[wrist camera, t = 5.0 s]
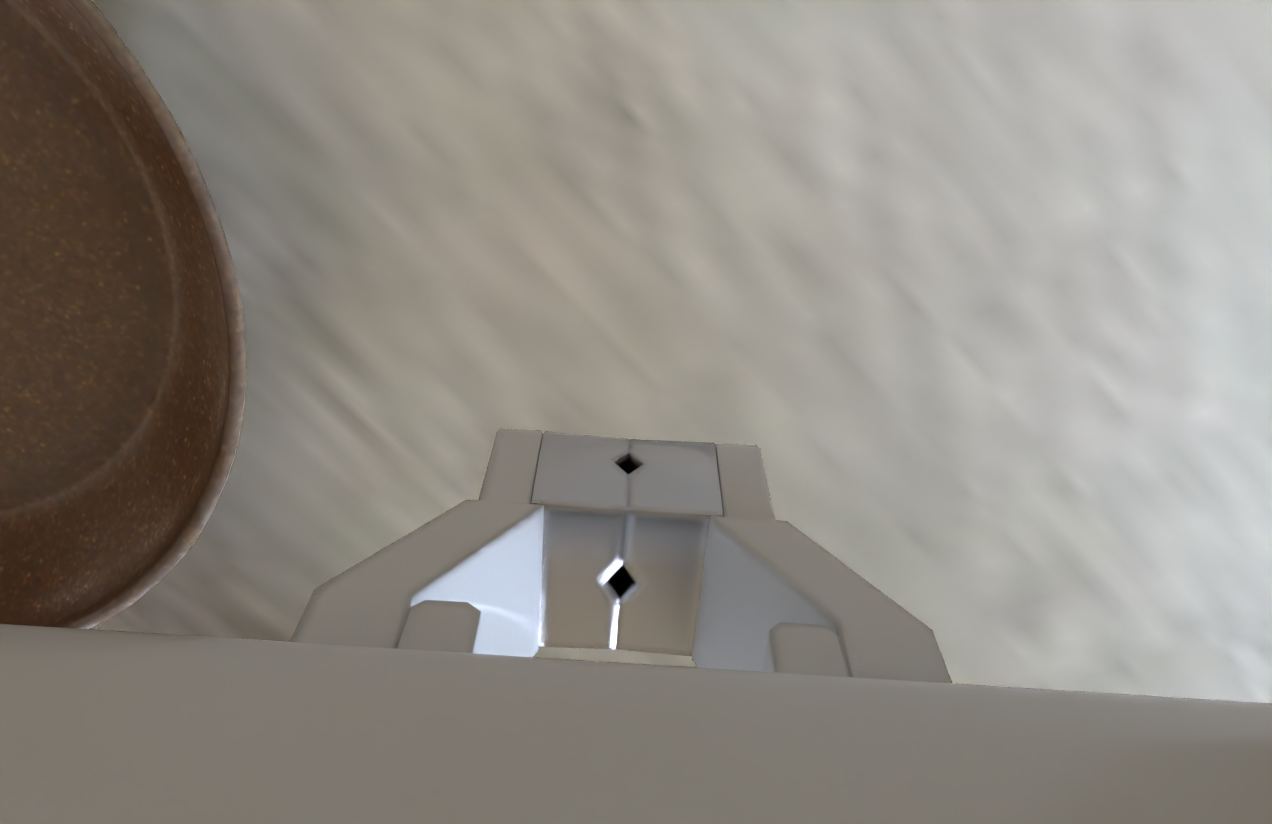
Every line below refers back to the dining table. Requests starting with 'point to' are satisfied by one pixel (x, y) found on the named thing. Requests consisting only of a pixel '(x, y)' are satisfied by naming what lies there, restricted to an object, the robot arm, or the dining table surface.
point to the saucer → (104, 325)
